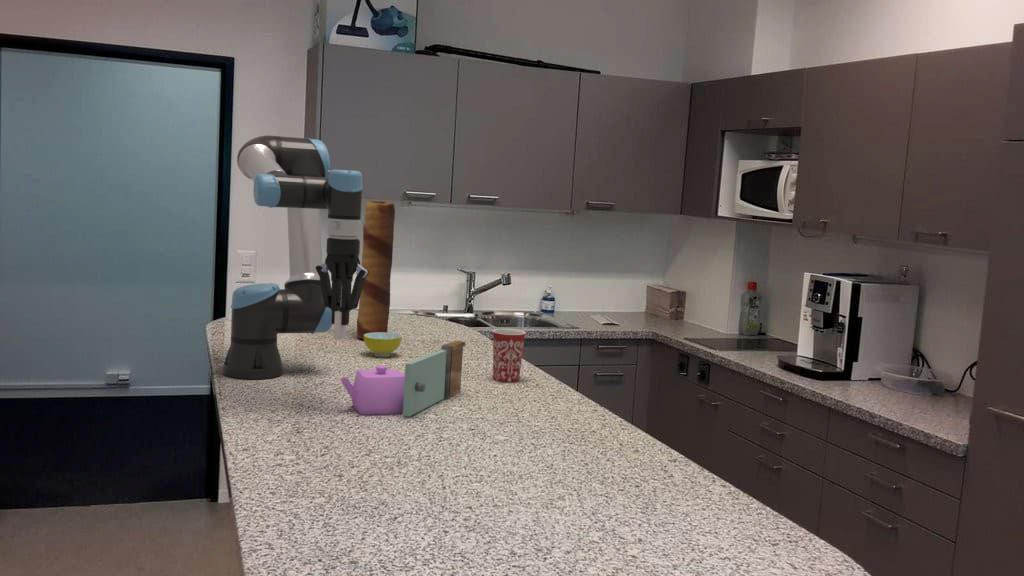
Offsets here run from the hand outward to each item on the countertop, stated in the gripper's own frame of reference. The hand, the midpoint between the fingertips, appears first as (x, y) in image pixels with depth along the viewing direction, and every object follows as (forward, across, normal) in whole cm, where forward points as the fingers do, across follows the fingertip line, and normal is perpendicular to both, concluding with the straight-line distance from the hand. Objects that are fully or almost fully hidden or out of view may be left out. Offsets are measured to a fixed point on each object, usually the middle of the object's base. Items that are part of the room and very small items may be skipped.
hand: (339, 338), depth 215 cm
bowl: (+15, -18, +57) cm, 62 cm away
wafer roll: (+15, -33, +80) cm, 88 cm away
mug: (+15, +24, +49) cm, 57 cm away
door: (+15, +20, +7) cm, 26 cm away
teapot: (+16, +11, 0) cm, 19 cm away
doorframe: (+15, +19, +22) cm, 33 cm away
